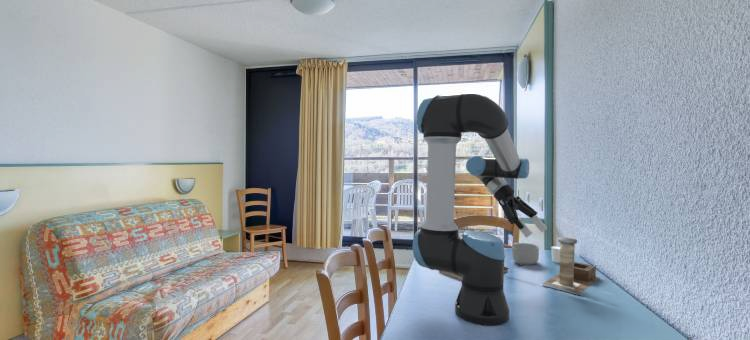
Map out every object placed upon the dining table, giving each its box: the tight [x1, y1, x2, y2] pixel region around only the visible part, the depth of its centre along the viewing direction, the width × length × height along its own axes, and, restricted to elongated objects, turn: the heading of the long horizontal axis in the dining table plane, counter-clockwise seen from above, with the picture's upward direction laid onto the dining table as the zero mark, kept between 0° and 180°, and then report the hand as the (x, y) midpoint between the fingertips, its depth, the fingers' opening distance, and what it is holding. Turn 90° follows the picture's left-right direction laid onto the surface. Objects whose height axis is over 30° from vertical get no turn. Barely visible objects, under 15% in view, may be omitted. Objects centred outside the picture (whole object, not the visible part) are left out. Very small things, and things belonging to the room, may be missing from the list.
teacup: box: [511, 242, 540, 267], centre depth 154 cm, size 14×11×8 cm
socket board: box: [542, 261, 601, 297], centre depth 130 cm, size 23×12×5 cm, turn 133°
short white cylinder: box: [550, 245, 560, 264], centre depth 154 cm, size 7×7×7 cm
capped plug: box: [557, 236, 578, 286], centre depth 125 cm, size 6×6×16 cm
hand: (537, 232), depth 133 cm, fingers open, 13 cm apart
